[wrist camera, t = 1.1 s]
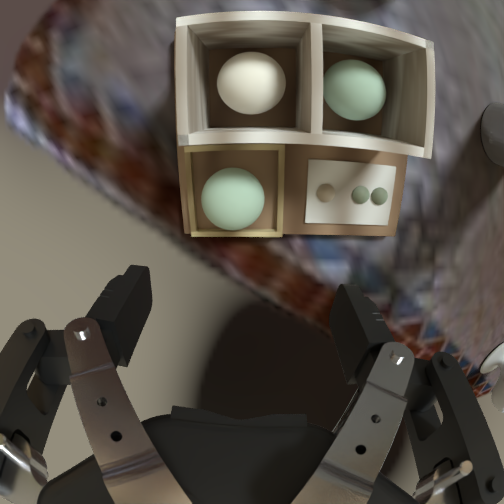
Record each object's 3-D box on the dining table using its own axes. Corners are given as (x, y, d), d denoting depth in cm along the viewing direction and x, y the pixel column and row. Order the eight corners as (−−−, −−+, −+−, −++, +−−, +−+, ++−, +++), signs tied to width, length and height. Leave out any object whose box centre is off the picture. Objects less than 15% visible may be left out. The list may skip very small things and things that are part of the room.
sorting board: (404, 49, 22) (456, 33, 12) (390, 231, 32) (429, 276, 23) (178, 34, 22) (141, 5, 13) (187, 228, 33) (160, 276, 24)
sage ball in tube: (372, 69, 22) (397, 61, 17) (371, 122, 25) (396, 126, 20) (316, 61, 22) (330, 49, 17) (315, 116, 25) (329, 117, 20)
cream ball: (283, 59, 22) (288, 45, 17) (283, 114, 25) (288, 115, 20) (221, 59, 23) (211, 46, 17) (222, 115, 25) (212, 115, 20)
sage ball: (264, 162, 28) (265, 174, 22) (263, 217, 30) (264, 241, 25) (205, 163, 28) (192, 175, 23) (209, 217, 31) (198, 240, 25)
